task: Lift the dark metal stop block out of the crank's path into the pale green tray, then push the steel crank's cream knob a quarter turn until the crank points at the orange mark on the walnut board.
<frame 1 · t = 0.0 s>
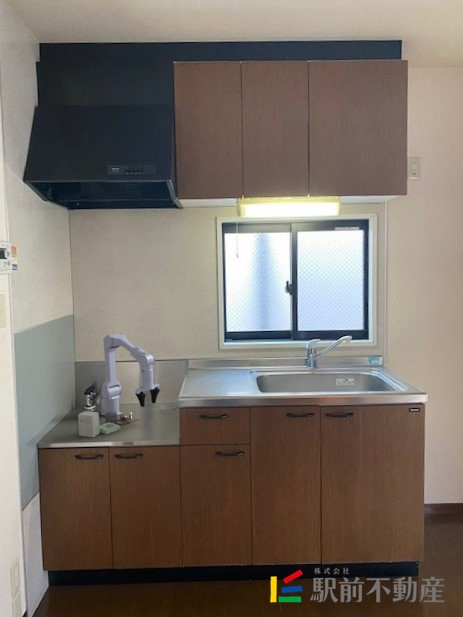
hand: (148, 404, 256), 10 cm above the countertop, tool pointing down, fingers open, 7 cm apart
small box: (89, 435, 243), on the countertop
stop block: (111, 424, 258), on the countertop
crank base: (123, 420, 264), on the countertop
crank: (126, 415, 262), point 3 cm above the countertop, hinge at 0.0°
tray: (107, 430, 249), on the countertop
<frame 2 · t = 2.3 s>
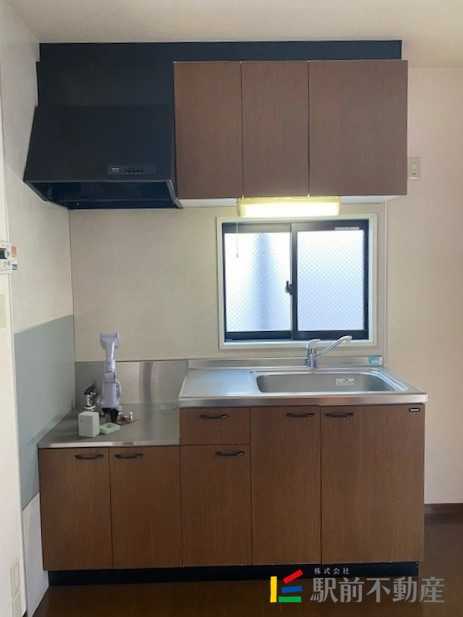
hand: (111, 422, 257), 1 cm above the countertop, tool pointing down, fingers closed on stop block, 4 cm apart
stop block: (111, 424, 258), on the countertop, touching gripper
everything else where it was.
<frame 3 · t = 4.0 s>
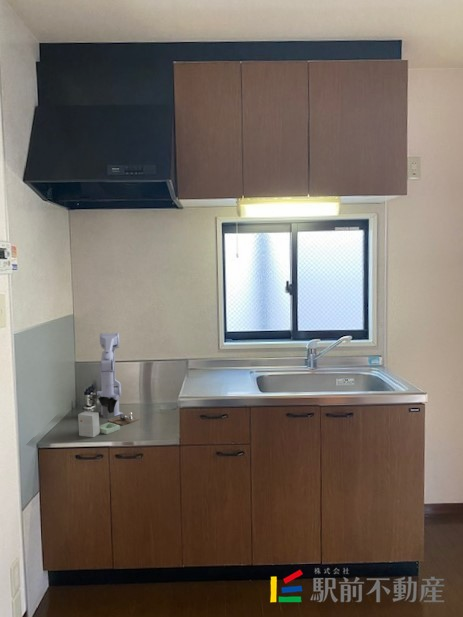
hand: (108, 411, 251), 9 cm above the countertop, tool pointing down, fingers closed on stop block, 4 cm apart
stop block: (108, 417, 251), point 6 cm above the countertop, touching gripper
everything else where it was.
when the fingers open (3 cm above the countertop, at t = 5.6 s): stop block stays where it is, resting on tray.
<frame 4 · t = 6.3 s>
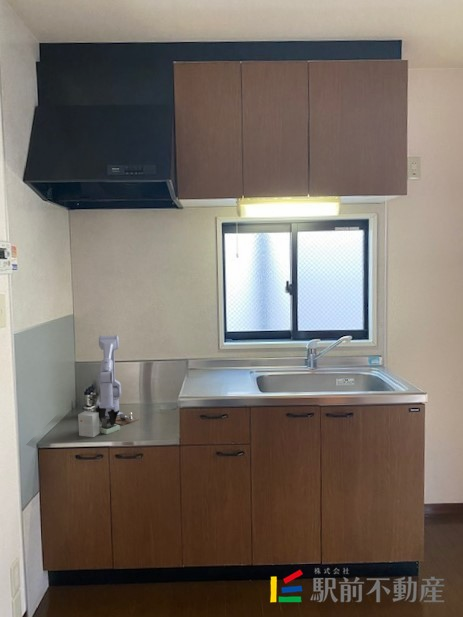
hand: (107, 423, 249), 4 cm above the countertop, tool pointing down, fingers open, 7 cm apart
stop block: (107, 429, 249), resting on tray
everything else where it was.
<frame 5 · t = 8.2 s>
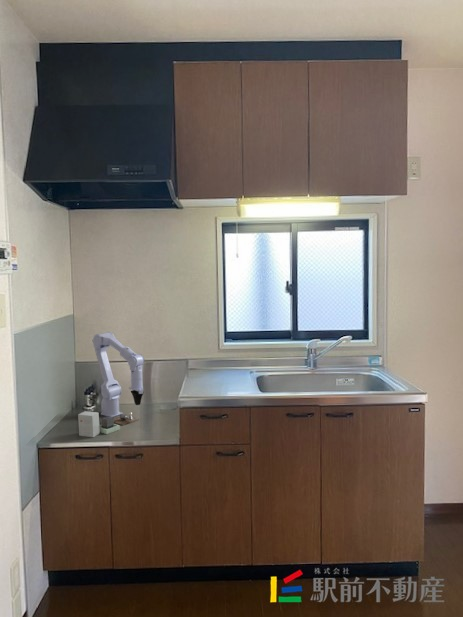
hand: (137, 404, 263), 8 cm above the countertop, tool pointing down, fingers closed
nothing on the countertop moved.
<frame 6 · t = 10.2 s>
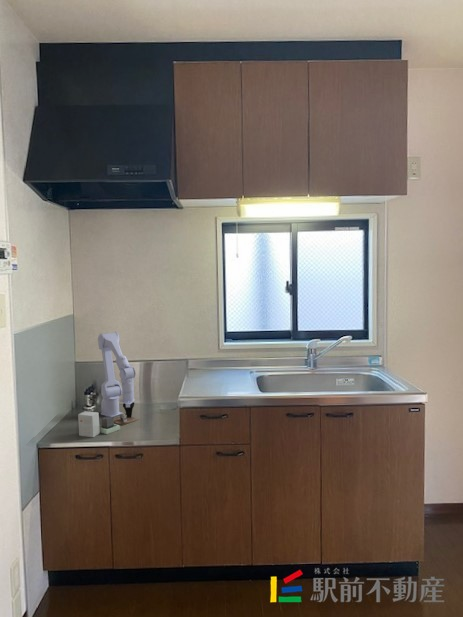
hand: (129, 417, 259), 3 cm above the countertop, tool pointing down, fingers closed, pressing on crank
crank: (124, 415, 261), point 3 cm above the countertop, hinge at -33.1°, touching gripper
everything else where it was.
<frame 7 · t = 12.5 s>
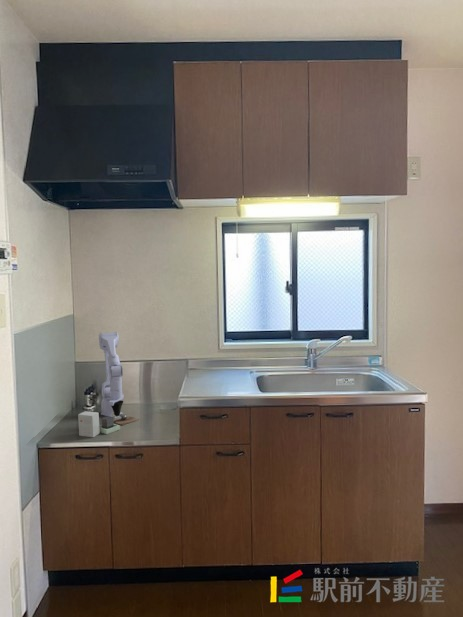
hand: (117, 415, 258), 4 cm above the countertop, tool pointing down, fingers closed
crank: (118, 415, 262), point 3 cm above the countertop, hinge at -100.1°
everything else where it was.
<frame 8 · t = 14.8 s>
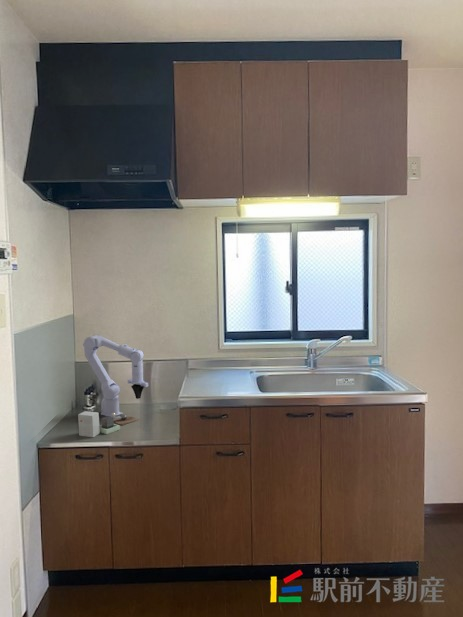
hand: (138, 398, 271), 9 cm above the countertop, tool pointing down, fingers closed
crank: (118, 415, 262), point 3 cm above the countertop, hinge at -100.4°
everything else where it was.
at the end: crank at -100° (first picture: +0°); stop block 0.1 cm off-centre on the tray, point 0.4 cm above the tray's base; stop block tilted 0° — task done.
